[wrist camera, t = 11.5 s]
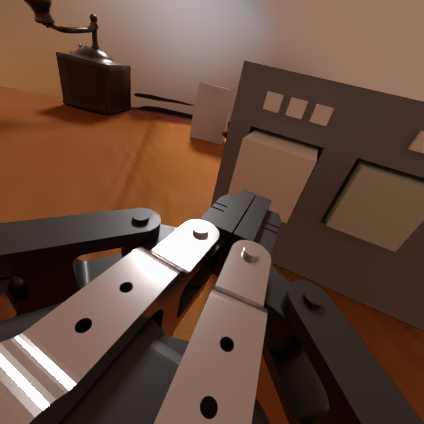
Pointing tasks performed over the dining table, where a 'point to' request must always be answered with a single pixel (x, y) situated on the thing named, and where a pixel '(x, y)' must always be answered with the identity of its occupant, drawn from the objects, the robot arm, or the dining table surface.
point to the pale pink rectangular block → (211, 113)
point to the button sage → (378, 205)
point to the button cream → (273, 169)
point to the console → (336, 180)
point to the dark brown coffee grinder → (88, 70)
